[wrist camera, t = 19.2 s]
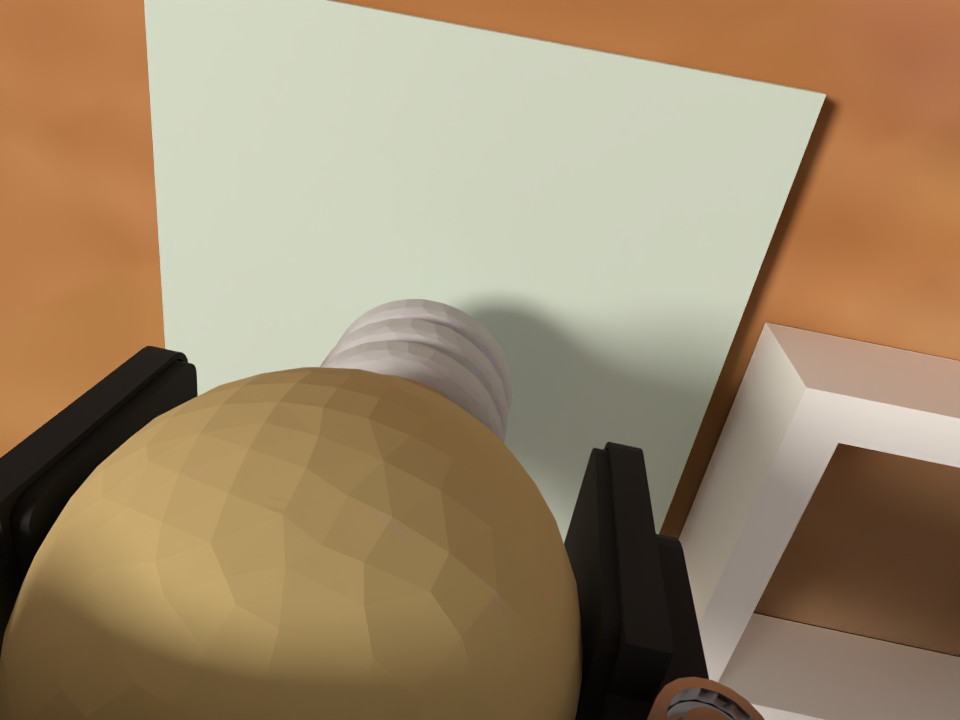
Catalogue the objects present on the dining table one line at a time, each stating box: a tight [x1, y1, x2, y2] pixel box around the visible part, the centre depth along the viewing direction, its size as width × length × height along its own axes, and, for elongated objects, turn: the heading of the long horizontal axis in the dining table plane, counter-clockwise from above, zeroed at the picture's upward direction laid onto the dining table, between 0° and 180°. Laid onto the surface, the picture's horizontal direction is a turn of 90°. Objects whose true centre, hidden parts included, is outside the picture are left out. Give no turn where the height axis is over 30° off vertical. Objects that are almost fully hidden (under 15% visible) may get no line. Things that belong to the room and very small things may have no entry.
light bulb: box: [0, 299, 583, 720], centre depth 10 cm, size 6×6×10 cm
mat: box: [144, 0, 826, 543], centre depth 16 cm, size 13×13×1 cm
